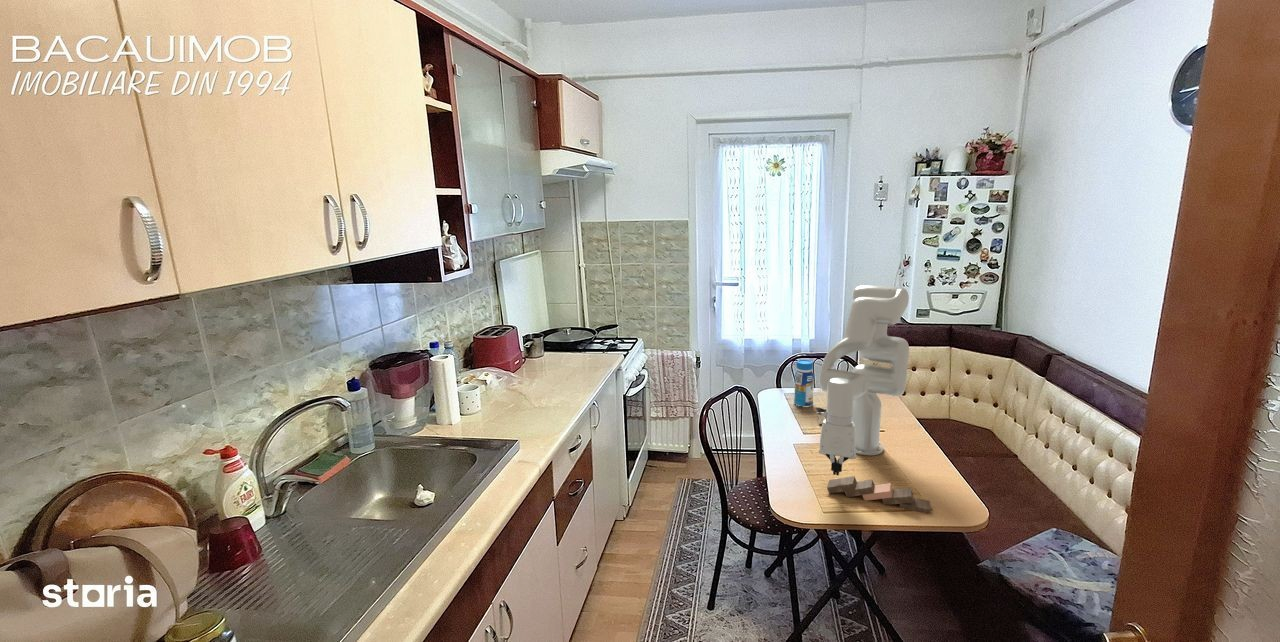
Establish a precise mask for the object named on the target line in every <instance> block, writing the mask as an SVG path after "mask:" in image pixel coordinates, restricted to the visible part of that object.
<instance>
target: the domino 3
mask: <svg viewBox="0 0 1280 642" xmlns="http://www.w3.org/2000/svg"><path fill="white" fill-rule="evenodd" d="M874 485H875V487H874V493H871V494H865V495H861V496H862V498H863V501H864V500H866V501H873V500H874V501H875V500H881V499H883V498H892V494H893V490H894V489H893V486H892V484H891V482H888V483H881V484H874Z"/></svg>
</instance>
